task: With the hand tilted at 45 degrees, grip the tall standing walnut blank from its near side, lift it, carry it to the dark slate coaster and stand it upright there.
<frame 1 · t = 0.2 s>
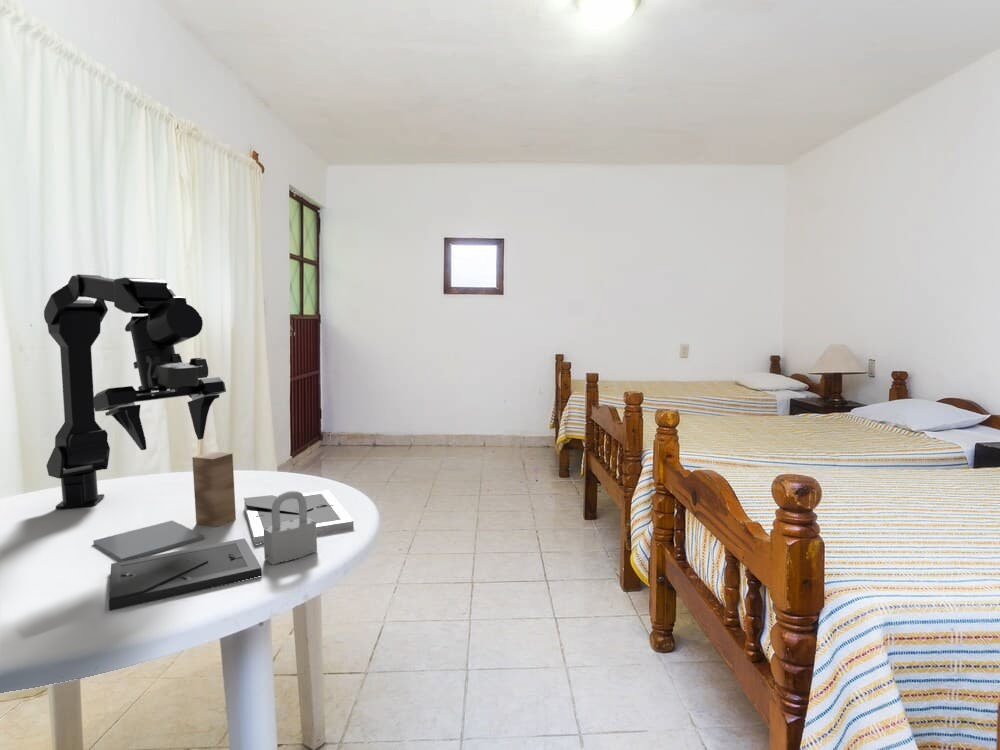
hand: (173, 444, 98), 15 cm above the table, tool pointing down, fingers open, 9 cm apart
picture frame: (186, 580, 83), on the table
walnut blank: (216, 521, 105), on the table
coaster: (149, 541, 96), on the table
picture frame 2: (296, 523, 107), on the table
padlock: (291, 557, 90), on the table
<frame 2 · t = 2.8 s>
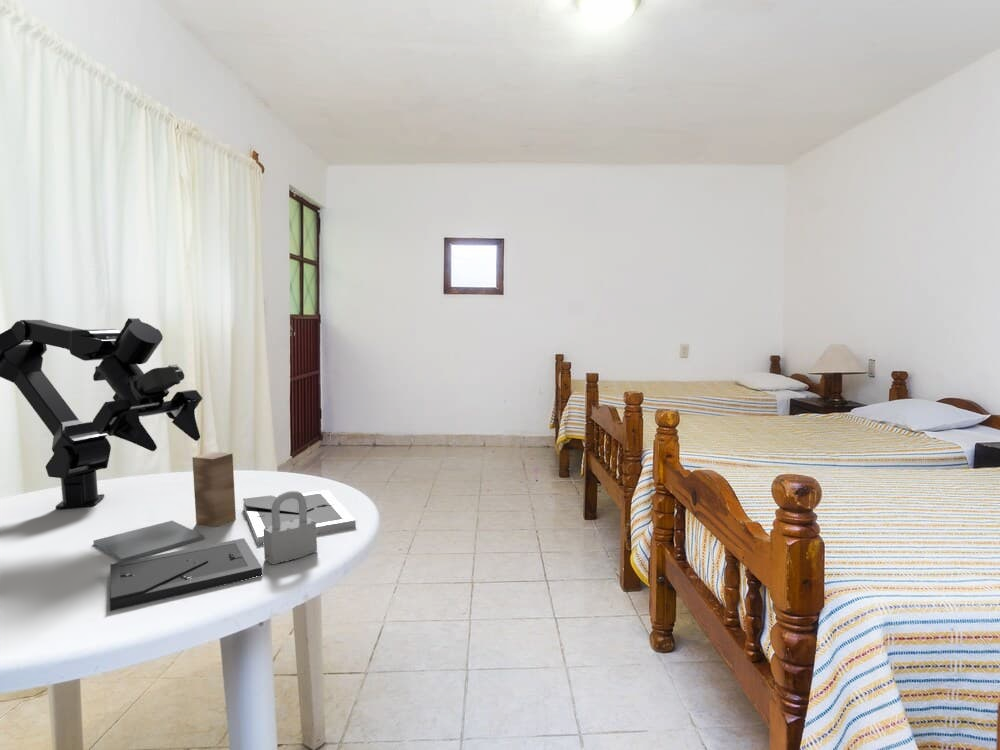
hand: (177, 444, 107), 13 cm above the table, tool tilted 45°, fingers open, 9 cm apart
nothing on the table moved.
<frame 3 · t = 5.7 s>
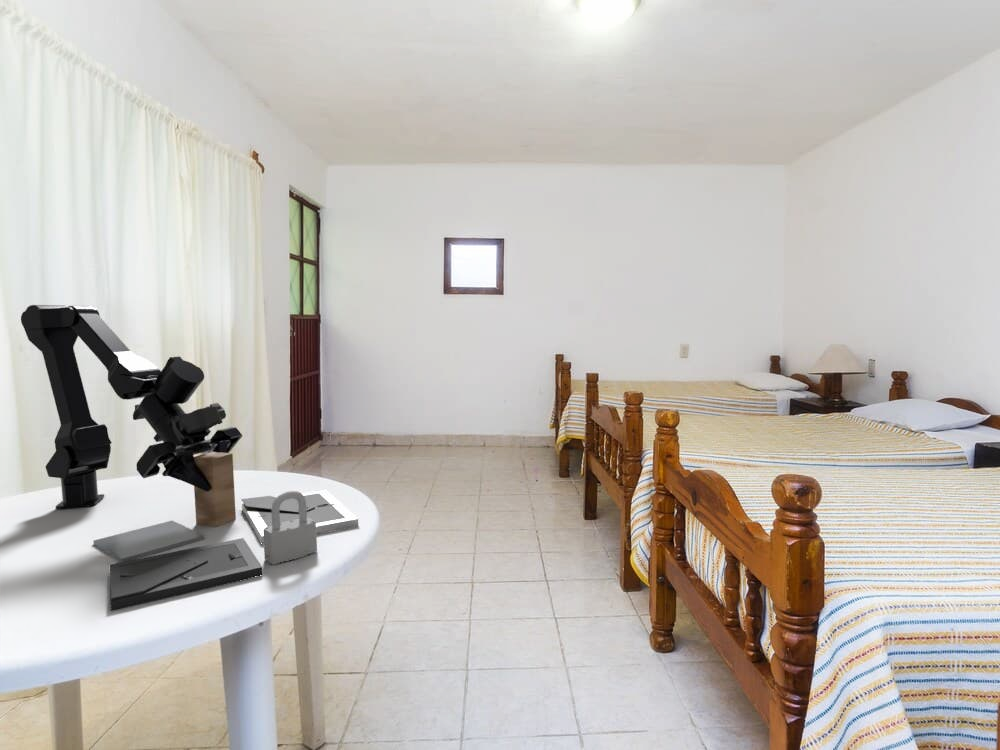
hand: (220, 485, 104), 7 cm above the table, tool tilted 45°, fingers closed on walnut blank, 4 cm apart
walnut blank: (216, 521, 105), on the table, touching gripper
everything else where it was.
when the fingers open (8 cm above the table, at t = 9.3 s): walnut blank stays where it is, resting on coaster.
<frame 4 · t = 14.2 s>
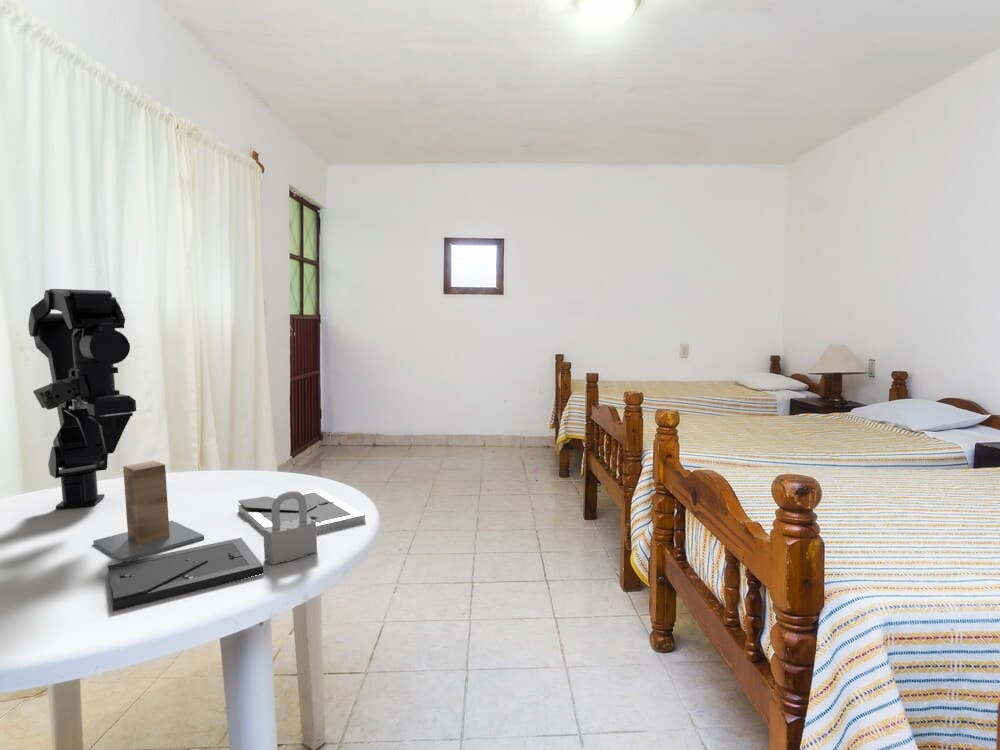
hand: (100, 449, 105), 13 cm above the table, tool pointing down, fingers open, 9 cm apart
walnut blank: (149, 537, 96), point 1 cm above the table, touching coaster
at the end: walnut blank inside the target area on the coaster (0.0 cm from its centre), point 0.6 cm above the coaster's base; walnut blank tilted 0°; the gripper is holding nothing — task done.
